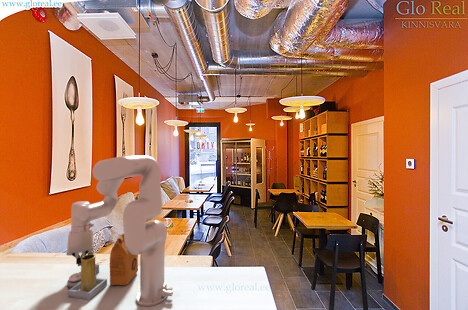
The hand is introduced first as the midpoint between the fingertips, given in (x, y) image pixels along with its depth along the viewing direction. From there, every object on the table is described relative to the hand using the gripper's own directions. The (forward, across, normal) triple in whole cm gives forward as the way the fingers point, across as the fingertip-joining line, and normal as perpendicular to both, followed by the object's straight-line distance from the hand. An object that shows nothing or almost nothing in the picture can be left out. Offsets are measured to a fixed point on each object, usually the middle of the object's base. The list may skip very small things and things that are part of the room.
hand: (80, 264), depth 107 cm
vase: (+4, -4, +16) cm, 17 cm away
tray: (+5, -4, +16) cm, 17 cm away
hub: (+5, +1, +7) cm, 9 cm away
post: (+5, -7, +2) cm, 9 cm away
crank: (+3, -1, +4) cm, 6 cm away
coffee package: (+5, -18, +14) cm, 24 cm away
